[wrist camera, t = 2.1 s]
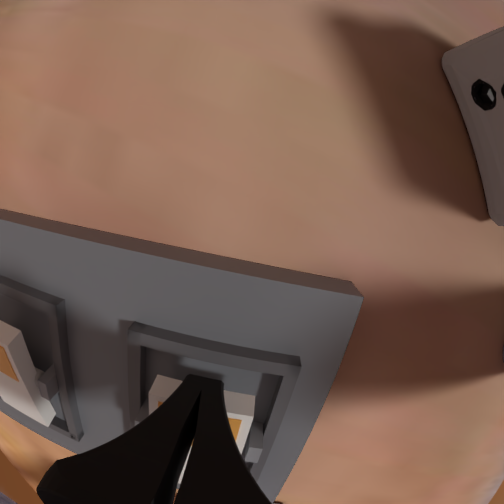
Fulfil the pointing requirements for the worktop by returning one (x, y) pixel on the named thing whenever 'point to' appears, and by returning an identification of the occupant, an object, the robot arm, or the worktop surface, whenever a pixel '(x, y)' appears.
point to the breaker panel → (169, 334)
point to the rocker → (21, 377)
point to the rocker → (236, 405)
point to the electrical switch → (482, 108)
